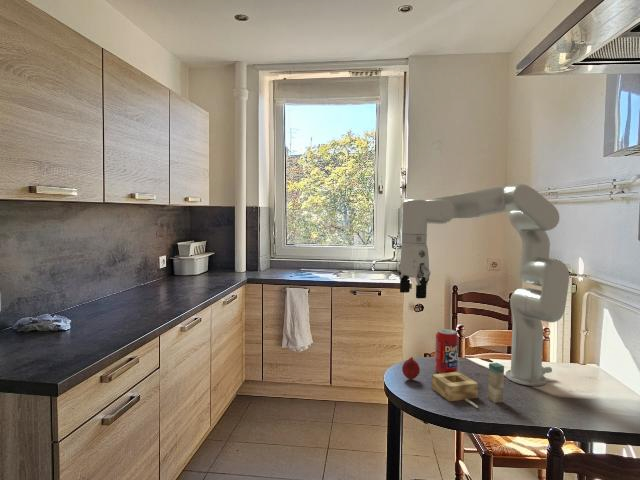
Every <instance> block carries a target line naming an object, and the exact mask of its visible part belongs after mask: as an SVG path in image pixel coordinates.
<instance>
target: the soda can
mask: <svg viewBox="0 0 640 480" xmlns="http://www.w3.org/2000/svg"><path fill="white" fill-rule="evenodd" d="M459 339H460V338H459V335H458V331H456V330H454V329H449V328H439V329H438V330H437V332H436V334H435V342H434V343H435V349H434V370H435V371H436V372H438V374H442V373H451V372H459V371H458V369H459V367H458V366H459V365H458V364H459V343H460V341H459Z"/></svg>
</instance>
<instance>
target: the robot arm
mask: <svg viewBox="0 0 640 480" xmlns="http://www.w3.org/2000/svg"><path fill="white" fill-rule="evenodd" d="M506 212H508V220H509V222H510V225H512V227H513V228H514V229H515V230H516V232H517V233H518V234H519V237H520V240H521V252H520V259H519V267H518V277H519V279H520V280H521V281H522V282H523V283H526V284H528V285H534V286H537V287H541V290H540V289H536V288H531V287H519V288H516V289H515V290H514V291H513V292H512V293H511V296H510V301H509V303H510V304H509V305H510V311H511V316H512V317H511V318H512V320H511V321H512V329H511V330H512V331H511V333H512V334H511V352H510V353H511V356H510V357H511V358H510V369H508V370H507V371H505V377H506V379H508V380H509V381H511V382H513V383H515V384H520V385H524V386H533V387H538V386H539V387H540V386H544V385H546V384H547V378H546V377H545V376H544V375H545V374H550V373H552V372H553V369H552V367H551V366H545V367H544V366H543V342H544V341H543V340H544V327H543V324H542V322H545V323H556V322H559V321H560V320H561V319H562V317H563V316H564V314H565V311H566V304H567V298H568V293H569V291H568V290H569V284H570V272H569V269H568V267H567V265H566V264H565V263H564V262H563V261H561V260H558V259H556V258H555V259H554V258H550V252H551V251H550V250H551V249H550V246H551V242H550V237H549V235H548V234H547V232H546V231H551V230H553V229H555V228H556V227H557V226H558V224H559V223H560V213H559V210H558V208H556V206H555V205H554V204H553V203H552V202H551V201H549V200H548V199H547V198H546V197H544V196H543V195H542V194H541V193H540V192H539V191H537V190H535V189H534V188H532V187H531V186H529V185H528V184H523V183H520V184H519V183H517V184H509V185H500V186H495V187H489V188H483V189H477V190H472V191H466V192H462V193H457V194H452V195H448V196H447V195H446V196H443V197H442V196H441V197H435V198H431V199H413V198H412V199H406V200H404V201H403V203H402V213H401V214H402V216H401V249H400V259H399V262H400V263H399V264H398V265H397V269H398V275H399V293H403V294H404V293H410V292H411V291H410V290H411V289H410V288H411V287H410V286H411V285H410V284H411V280H410V278H414V279H415V281H416V283H417V284H416V285H415V298H416V299H427V285H428V284H429V283H428V282H429V280H430V275H431V270H430V267H429V266H430V259H429V256H430V255H429V249H428V245H427V239H428V224H435V225H436V224H437V225H443V224H447V223H449V222H451V221H452V220H453V219H471V218H472V219H473V218H480V217H484V216H485V217H486V216H489V215H495V214H500V213H506Z"/></svg>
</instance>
